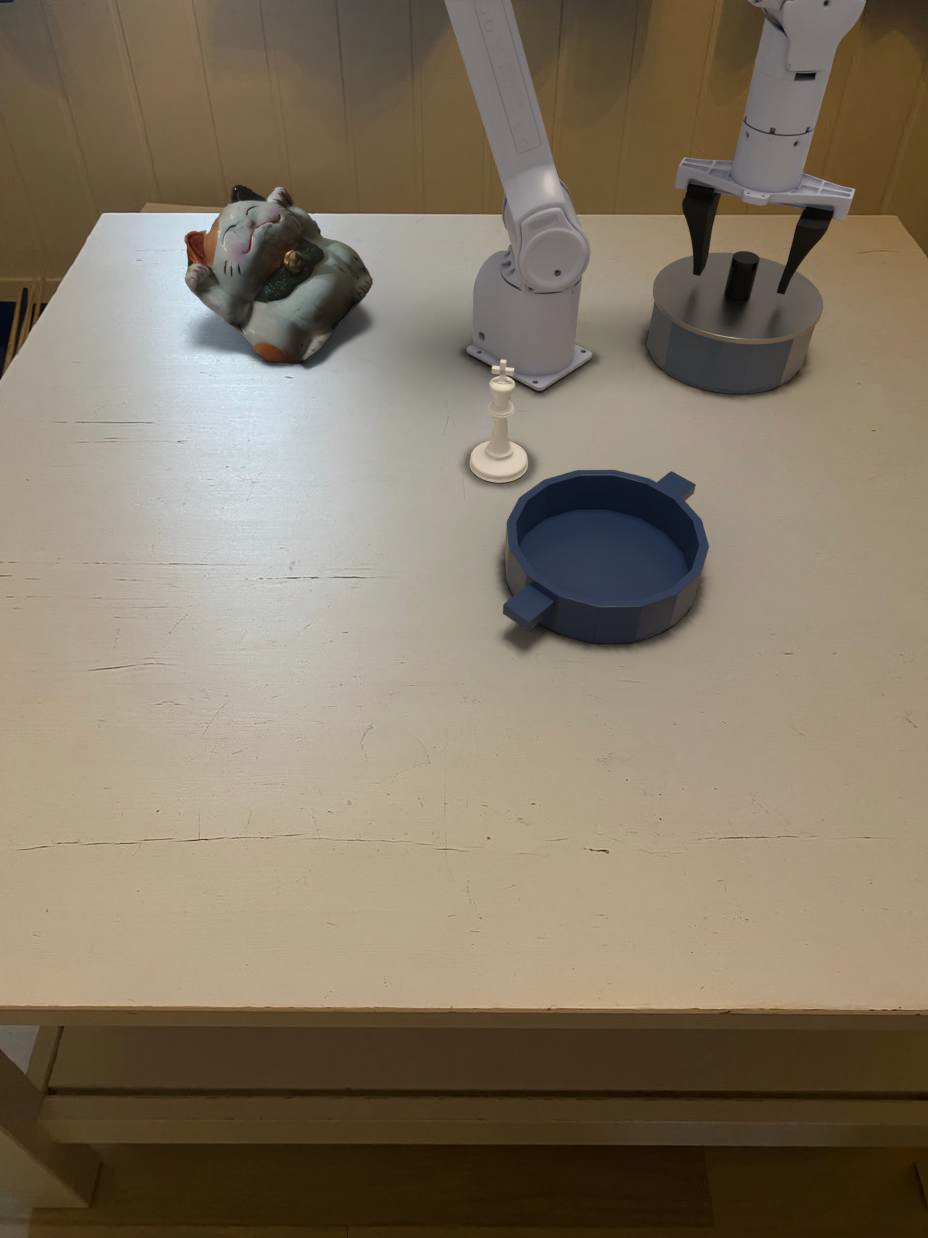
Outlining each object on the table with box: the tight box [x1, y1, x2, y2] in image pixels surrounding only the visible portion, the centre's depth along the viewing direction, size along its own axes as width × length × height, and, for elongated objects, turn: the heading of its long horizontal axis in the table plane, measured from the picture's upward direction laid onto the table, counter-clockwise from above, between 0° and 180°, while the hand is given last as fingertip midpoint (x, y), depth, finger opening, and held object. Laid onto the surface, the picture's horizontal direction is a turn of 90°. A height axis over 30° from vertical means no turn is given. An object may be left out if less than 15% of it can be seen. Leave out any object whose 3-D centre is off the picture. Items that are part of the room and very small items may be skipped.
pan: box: [502, 469, 710, 645], centre depth 70 cm, size 14×20×4 cm
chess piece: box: [469, 359, 529, 484], centre depth 76 cm, size 5×5×10 cm
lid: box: [652, 250, 824, 344], centre depth 86 cm, size 15×15×5 cm
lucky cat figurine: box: [183, 184, 374, 364], centre depth 89 cm, size 15×12×14 cm
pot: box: [645, 301, 816, 395], centre depth 89 cm, size 15×15×5 cm
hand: (740, 279), depth 86 cm, fingers open, 7 cm apart
